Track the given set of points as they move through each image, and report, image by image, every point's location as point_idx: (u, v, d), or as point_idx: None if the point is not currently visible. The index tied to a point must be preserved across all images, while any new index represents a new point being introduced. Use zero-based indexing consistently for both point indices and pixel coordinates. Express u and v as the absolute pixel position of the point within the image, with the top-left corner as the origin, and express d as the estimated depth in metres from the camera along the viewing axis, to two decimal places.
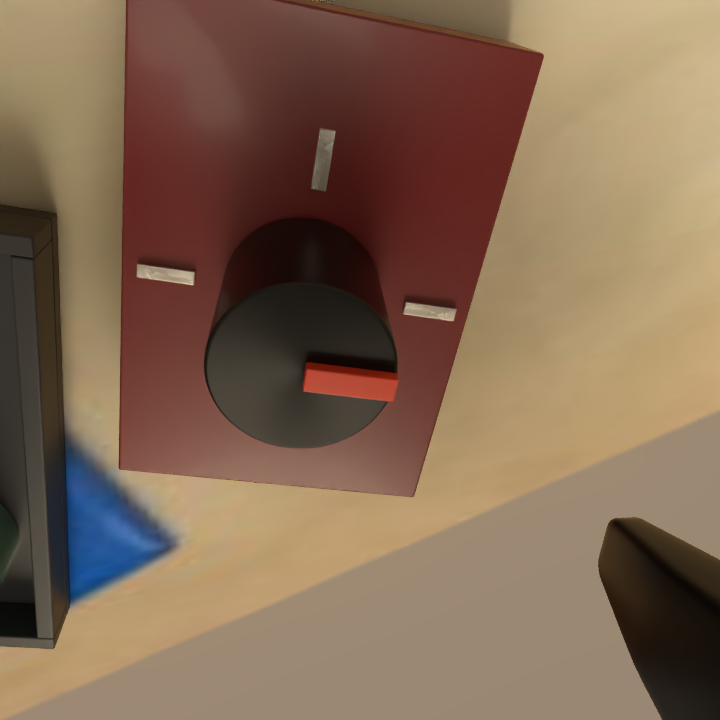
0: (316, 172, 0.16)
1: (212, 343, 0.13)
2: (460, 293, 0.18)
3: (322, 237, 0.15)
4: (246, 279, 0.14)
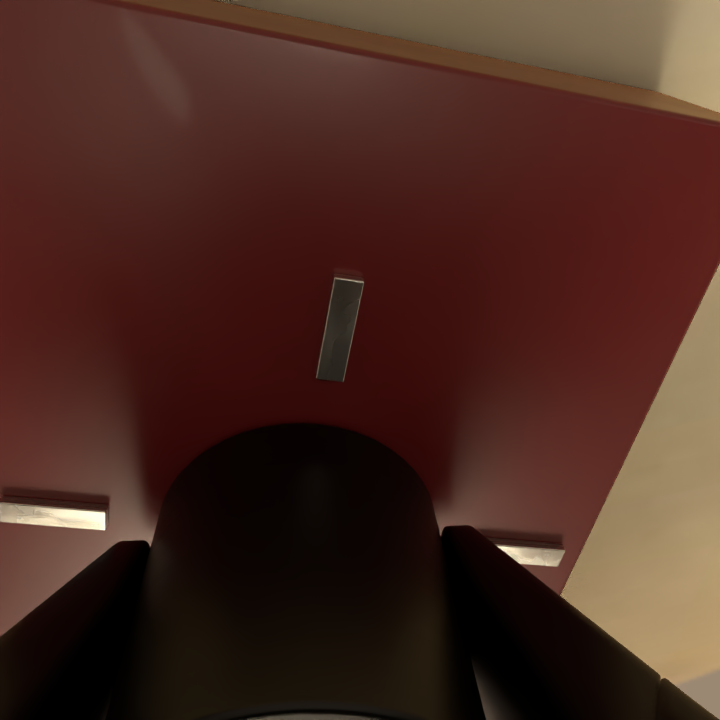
0: (326, 350, 0.08)
1: None
2: (572, 525, 0.10)
3: (337, 487, 0.08)
4: (176, 641, 0.06)
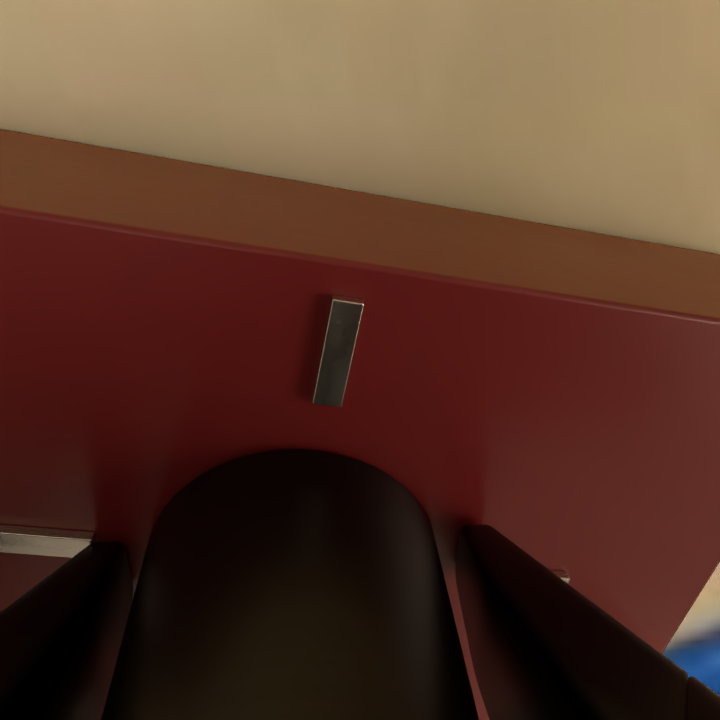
0: (60, 551, 0.09)
1: None
2: (298, 285, 0.07)
3: (336, 521, 0.07)
4: (165, 691, 0.06)
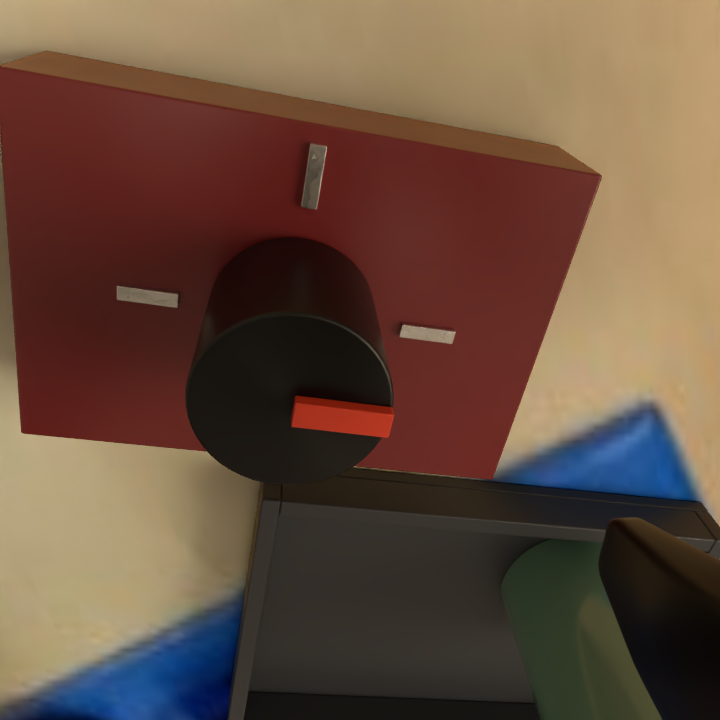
0: (160, 302, 0.16)
1: (194, 375, 0.12)
2: (292, 137, 0.14)
3: (313, 259, 0.14)
4: (232, 306, 0.13)
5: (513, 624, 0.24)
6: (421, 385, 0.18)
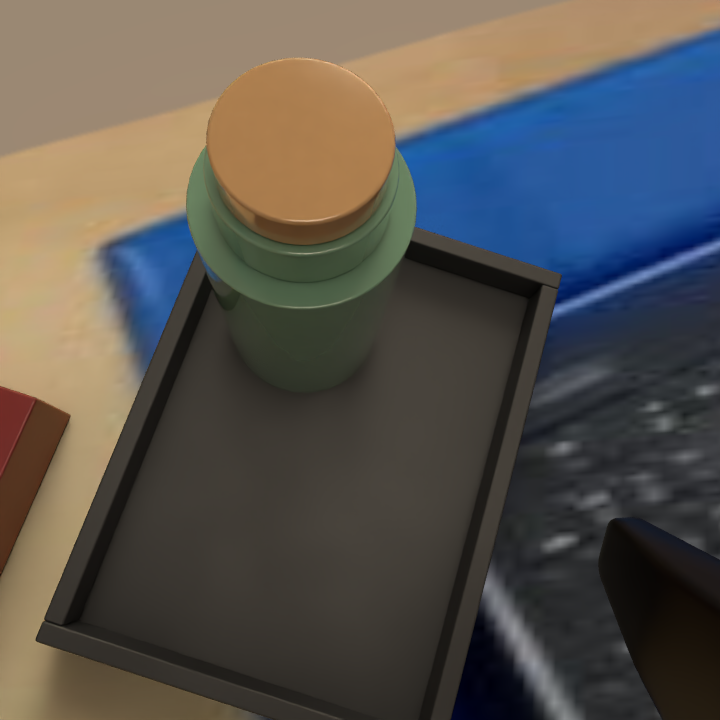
0: None
1: None
2: None
3: None
4: None
5: (292, 381, 0.21)
6: None
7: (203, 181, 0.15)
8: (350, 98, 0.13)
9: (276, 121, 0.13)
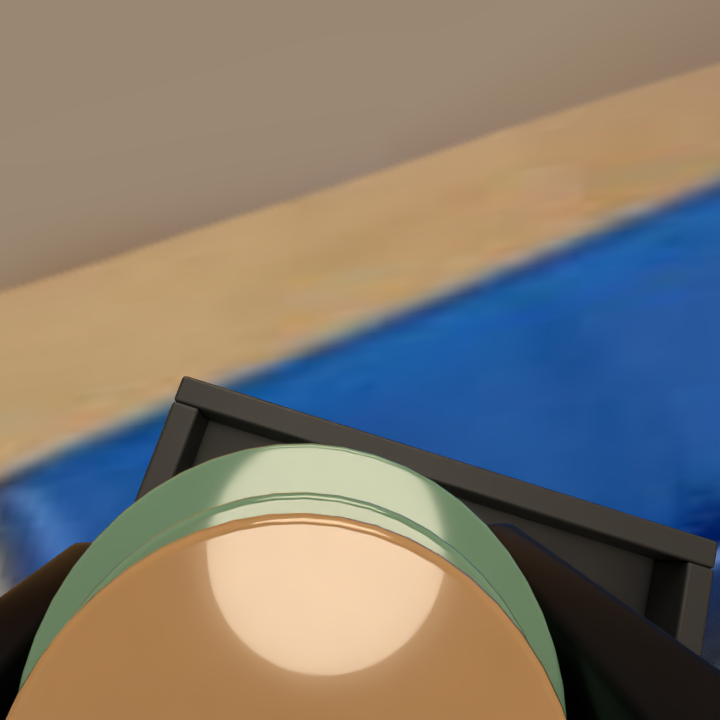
0: None
1: None
2: None
3: None
4: None
5: None
6: None
7: None
8: (440, 663, 0.04)
9: None
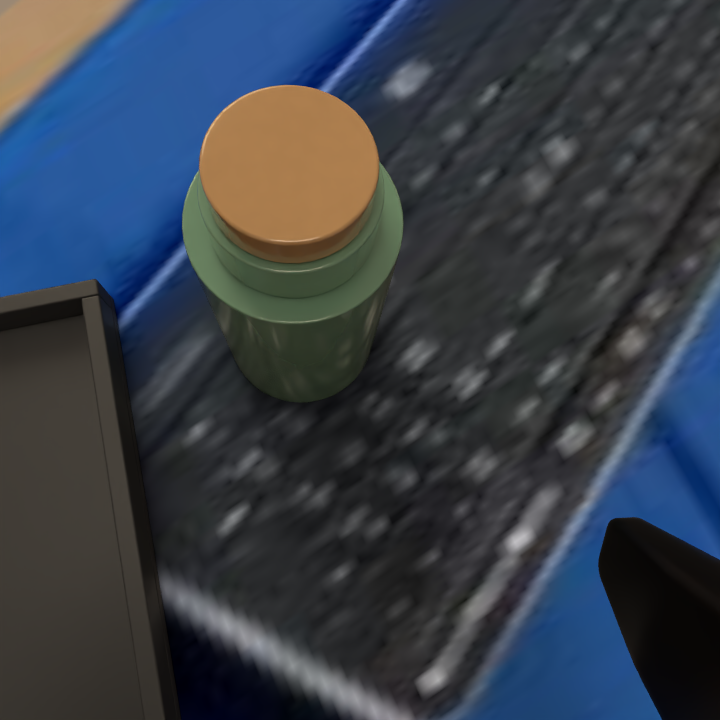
0: None
1: None
2: None
3: None
4: None
5: (290, 391, 0.22)
6: None
7: (198, 202, 0.16)
8: (335, 123, 0.14)
9: (265, 146, 0.13)
